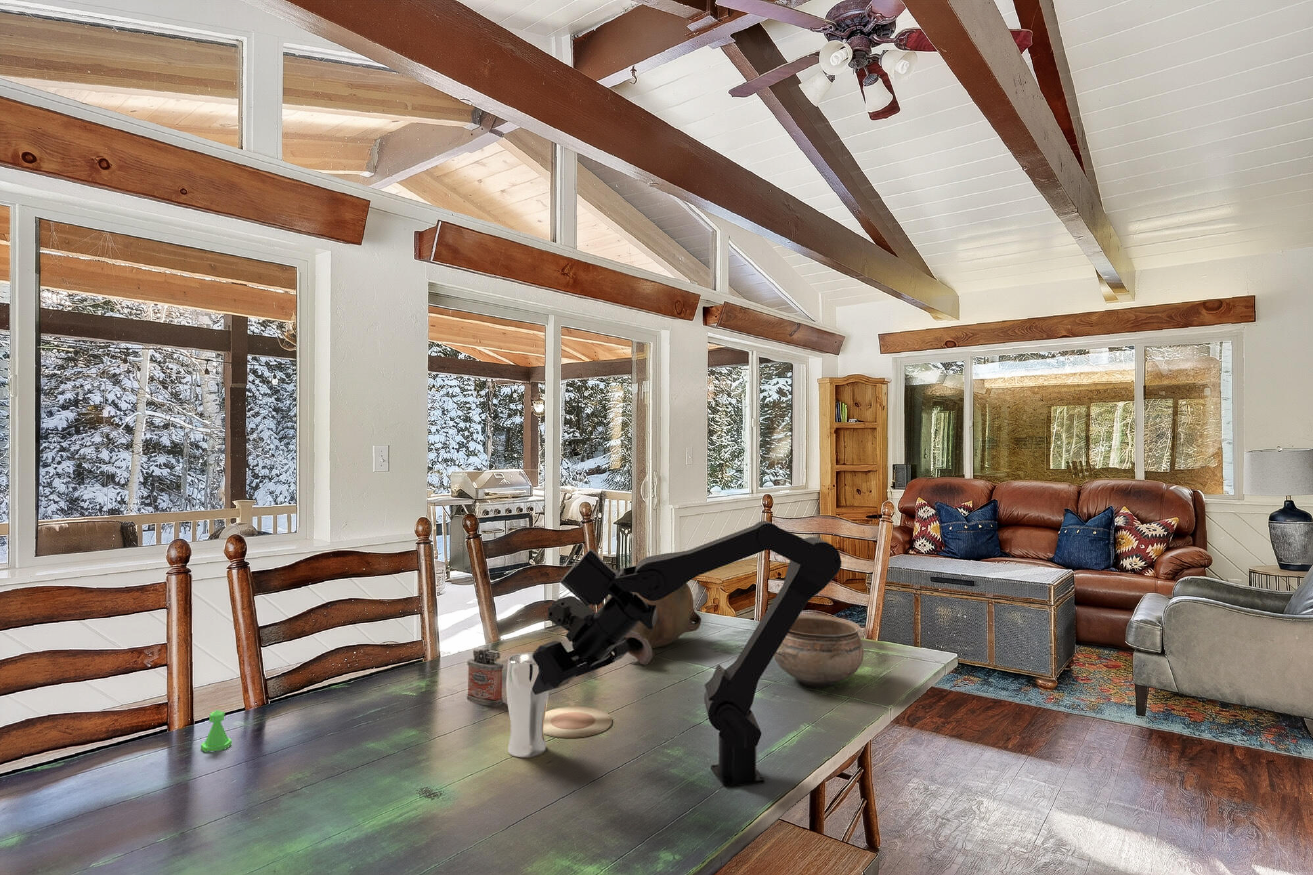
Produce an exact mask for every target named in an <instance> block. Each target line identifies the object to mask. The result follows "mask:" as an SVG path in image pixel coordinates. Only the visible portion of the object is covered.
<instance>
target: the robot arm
mask: <svg viewBox="0 0 1313 875" xmlns="http://www.w3.org/2000/svg"><path fill="white" fill-rule="evenodd" d="M764 551H771V552H773V553H775V554H777V555H779V556H781V557H783V558H785V559H788V560H789V563H788V565H787V569H786V573H785V577H784V581H783V583H782V586H781V588H780V589H779V591H778V593H777V594H776V596H775V598H774V599H773V600H772V602H771V603H770V605H769V607H768V609H767V610H766V612H765V614H764V615H763V617H762V618H761V620H760V621H759V623H758V624H757V626H756V628H755V629H754V631H753V633H752V634H751V636H750V638H749V639H748V641H747V642H746V643H745V645H744V647H743V649H742V650H741V652H740V653H739V655H738V657H737V658H736V660H734V662H733V663H732V664H730V665H729V666H728V667H726V668H724V667H723V666H722V665H720V664H717V666H716V668H715V670H714V672H713V675H712V677H711V678H710V679H709V680H708V681H707V682H705V683H704V686H703V687H704V688H705V689H704V690H705V692H704V697H703V699H704V700H703V701H704V706H705V709H706V714H707V718H708V720H709V722H710V724H711V726H712V727H713V728H714V729H715V730H717V731H719V733H718V764H717V763H716V764H711V765H710V770H711V771H712V773H713V774H714V775H715V776H716V778H717V779H718V780H719V782H720V784H722V786H723V787H726V788H727V787H736V786H747V785H753V784H760V783H765V781H766V778H765V777H764V775H762V773H761V772H760V771H759V770H758V769H757V749H758V748H757V747H758V744H759V743H760V739H761V736H762V734H763V733H762V731H761V729H760V726H759V724H758V722H757V720H756V719H757V718H755V714H754V713H753V711H752V709H751V708H752V706H753V702H754V699H755V697H756V696H755V695H756V691H757V687H758V684H759V681H760V678H761V677H762V675H763V674H764V673H765V671H766V670H767V667H768V666H769V665H770V663H771V661H772V660H773V658H774V655H775V653H776V652H777V650H778V648H779V647H780V645H781V644H782V642H783V640H784V639H785V637H786V636H787V634H788V632H789V631H790V629H791V628H792V626H793V624H794V623H795V621H796V620H797V618H798V616H799V615H801V613H802V611H803V610H804V608H805V606H807V603H808V602H809V601H810V600H811V599H812V598H814V597H815V596H817V595H818V594H820V592H821V591H823V590H824V589H825V588H826V587H827V586H828V585H829V584H830V583H831V582H832V580H834V578H835V577H836V576H837V575H838V573H839V572H840V569H841V568H842V558H841V553H840V552H839V551H838V549H837V547H835V546H834V545H833V544H831V543H829V542H828V541H825V540H823V539H821V538H819V537H815V536H811V537H810V536H809V537H806V538H803V537H800V536H799V535H796V534H794V533H792V532H790V531H789V530H788V531H787V530H786V529H783V528H781V527H779V526H778V525H776V524H775V523H773V522H771V521H769V520H761V521H758V522H757V523H755V524H754V525H751V526H749V527H747V528H744V529H742V530H739V531H735V532H733V533H730V534H728V535H725V536H723V537H719V538H717V539H715V540H712V541H708V542H707V543H704V544H701V545H699V546H696V547H692V548H691V549H688V550H682V551H677V552H666V553H661V554H655V555H651V556H646V557H644V558H642V559H640V561H638V562H637V564H636V565H632V566H628V567H623V568H618V569H615V570H614V569H613V568H612V567H611V566H610V565H609V564H608V563H607V562H605V560H603V559H602V558H601V557H600V556H599V554H598V553H597V552H596V551H595V550H594V549H592V548H589V550H588V551H587V552H586V553H585V554H584V555H583V556H582V557H581V558H580V559H579V561H576V562H575V563H573V565H572V566H571V567H570V568H569V570H568V571H567V572H566V573H565V575H563V577H562V578H561V579H560V581H559V583H560V584H561V585H562V586H564V587H565V588H566V589H567V590H568V591H569V592H570V593H571V594H573V595H574V596H573V595H568V596H564V597H560V598H559V599H558V598H557V599H556V601H553V603H552V604H551V605H550V606H548V608H547V612H548V613H547V619H548V620H549V621H550V622H551V623H552V624H554V625H555V626H557V627H562V628H563V630H565V631H567V633H566V634H565V637H566V639H567V640H568V641H569V642H570V643H572V644H571V646H572V649H573V650H569V651H567V649H566V648H565V646H564V645H563V643H562V642H561V641H556V640H552V641H550V642H547V643H544V644H541V645H539V646H538V647H537V649H535V650H534V651H533V652H534V653H533V656H532V658H533V659H534V661H535V662H536V664H537V665H538V667H539V668H540V670H539V673H538V675H537V678H536V680H535V682H534V685H533V687H532V691H533V692H534V694H535V695H537V694H540V693H543V692H546V691H549V692H550V691H551V690H555V689H559V688H561V687H562V686H565V685H568V684H569V682H571V681H573V679H575V678H577V677H580V676H582V675H586V674H588V673H590V672H594V671H596V670H599V669H602V668H604V667H606V666H609V665H612V664H614V663H615V662H617V661H620V660H621V659H623V658H624V656H626V655H627V654H628V653H627V652H628V643H627V642H626V640H627V639H626V638H625V636H626V635H627V634H628V633H629V632H630V631H631V630H632V629H633V628H634V627H635V626H636V625H637V624H638V623H639V622H641V623H642V624H644V625H645V626H646V627H647V628H648V629H649V630H652V629H653V627H654V625H655V623H656V620H657V618H658V616H657V612H656V608H657V606H656V605H650V604H647V603H646V602H645V601H644V600H642V599H641V598H640V597H639V596H638V595H637V594H636V593H638V594H639V595H640V596H641V597H643V598H645V599H647V600H649V601H656V600H660V599H662V598H664V597H666V596H667V595H669V594H671V593H672V592H674V591H676V590H678V589H679V588H681V587H682V586H683V585H685V584H686V583H687V584H688V583H689V582H691V580H693V579H695V578H697V577H698V576H701V575H705V574H706V573H708V572H711V571H713V570H714V571H715V570H717V569H719V568H723V567H725V566H728V565H729V564H733V563H735V562H738V561H741V560H743V559H745V558H748V557H751V556H753V555H756V554H758V553H762V552H764ZM631 592H635V593H631ZM609 595H610V598H608V599H607V601H605V603H604V604H603V601H604V600H605V599H606V598H607V597H609ZM601 604H602V606H601V607H600V608H599V609H598V610H597V611H596V612H594V611H593V610H592V608H591V607H590V605H592V607H594V606H596V607H599V606H600V605H601Z"/></svg>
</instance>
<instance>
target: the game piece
mask: <svg viewBox="0 0 1313 875" xmlns="http://www.w3.org/2000/svg"><path fill="white" fill-rule="evenodd" d="M225 715H226V712H225V711H221V710H218V709H217V710H215V711H213V712H211V713H209V720H208V722H209V723H213V724H211V725H212V726H211V728H210V731H209V732H208V735H207V737H206V739H205V741H204V742H203V743H201V744H200V750H201V751H202V750H203V751H204V752H203V751H202V752H203V753H208V752H207V751H217V750H221V751H223V750H222V749H225V748H227V749H228V748H229V747H228V746H230V745H231V744H232V741H233V740H232V739H231V738H230V737H228V735H227V733H226V731H225V728H224V726H223V724H222V721H224V720H225ZM232 745H233V744H232ZM232 745H231V746H232ZM231 746H230V747H231ZM225 750H226V749H225ZM205 751H206V752H205ZM217 752H218V751H217Z"/></svg>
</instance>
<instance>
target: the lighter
mask: <svg viewBox="0 0 1313 875" xmlns="http://www.w3.org/2000/svg"><path fill="white" fill-rule="evenodd" d="M472 652H473V653H472V655H473V658H469V659H467V662H466V664H467V666H468V667H467V668H468V669H467V673H468V674H467V679H468V680H467V694H466V700H467V701H469V702H473V703H476V704H478V705H484V706H493V707H495V706H496V707H497V706H500V705H502V704H504V697H503V669H504V663H503V662H500V661H496V660H499V659H500V658H501V653H500V651H496V650H492V649H491V650H490V649H489V648H488V647H484V648H482V649H481V648H474V649H473V650H472Z"/></svg>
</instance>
